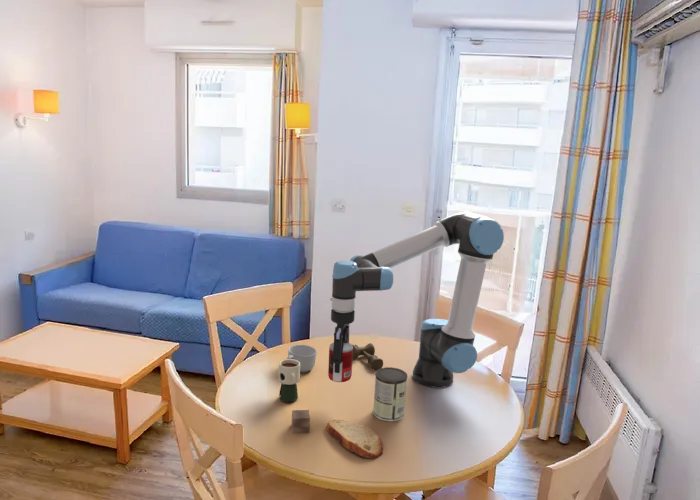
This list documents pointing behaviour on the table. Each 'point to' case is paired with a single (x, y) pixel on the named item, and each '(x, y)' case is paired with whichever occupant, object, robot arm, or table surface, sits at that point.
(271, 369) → the table surface
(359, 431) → the slice of bread
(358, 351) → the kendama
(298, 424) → the metal block
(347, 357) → the canned food
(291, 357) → the teacup
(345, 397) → the table surface
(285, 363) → the character mug
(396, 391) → the coffee can
